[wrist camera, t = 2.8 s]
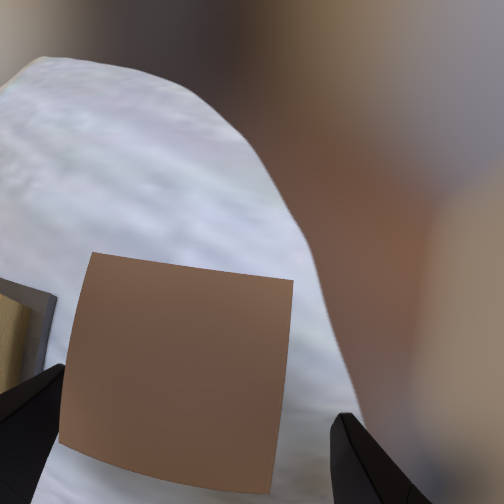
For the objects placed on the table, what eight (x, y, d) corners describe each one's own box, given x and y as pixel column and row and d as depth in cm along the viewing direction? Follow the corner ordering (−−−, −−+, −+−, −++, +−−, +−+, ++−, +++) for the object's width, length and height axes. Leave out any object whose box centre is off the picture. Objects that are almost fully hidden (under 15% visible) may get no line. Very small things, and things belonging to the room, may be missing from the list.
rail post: (244, 410, 15) (269, 494, 4) (178, 399, 15) (58, 442, 4) (252, 347, 17) (293, 280, 5) (187, 337, 17) (92, 252, 5)
